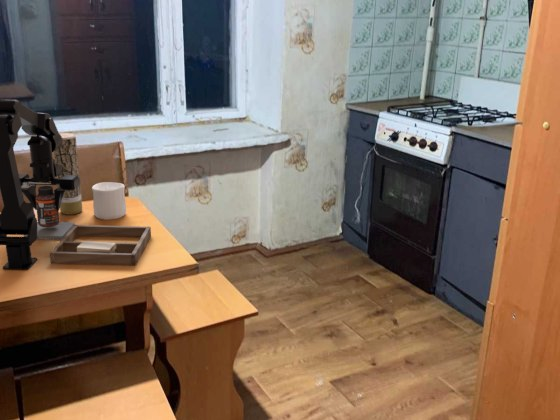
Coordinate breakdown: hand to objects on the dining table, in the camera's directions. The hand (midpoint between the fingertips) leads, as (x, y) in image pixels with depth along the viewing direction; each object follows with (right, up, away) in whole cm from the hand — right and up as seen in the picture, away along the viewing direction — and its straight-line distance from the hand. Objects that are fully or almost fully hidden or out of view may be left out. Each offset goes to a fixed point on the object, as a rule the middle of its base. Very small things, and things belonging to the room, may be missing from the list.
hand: (47, 209), depth 172 cm
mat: (0, -7, +2) cm, 7 cm away
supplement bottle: (0, -4, +2) cm, 5 cm away
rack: (+19, -11, -8) cm, 23 cm away
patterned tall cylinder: (0, -1, +19) cm, 19 cm away
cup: (+13, -2, +17) cm, 22 cm away
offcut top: (+19, -11, -14) cm, 26 cm away
